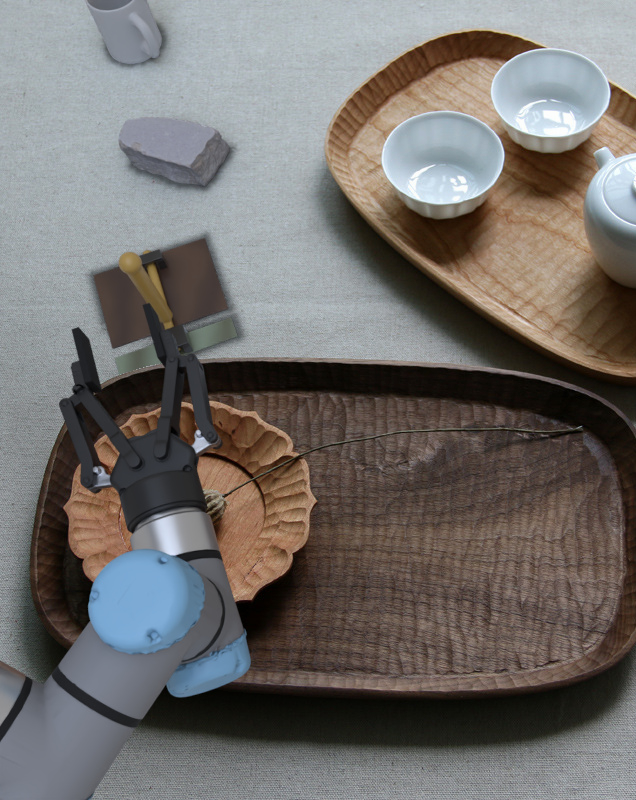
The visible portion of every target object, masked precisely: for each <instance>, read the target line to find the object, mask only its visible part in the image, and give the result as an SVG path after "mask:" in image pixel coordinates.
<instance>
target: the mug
mask: <svg viewBox="0 0 636 800" xmlns="http://www.w3.org/2000/svg"><path fill="white" fill-rule="evenodd" d="M84 2H85V4H86V7H87V8H88V11H89V13H90V15H91V17H92V20H93V21H94V23H95V25H96V27H97V30H98V32H99V34H100V35H101V38H102V40H103V42H104V44H105V46H106V48H107V50H108V53H109V55H110V56H111V57H112V58H113V59H114V60H115V61H117V62H119V63H122V64H127V65H128V64H129V65H133V64H134V65H135V64H139V63H143V62H145V61H148V60H149V59H156V58H158V57H159V55H160V53H161V52H160V48H161V46H162V43H163V42H162V41H163V37H162V34H161V32H160V29H159V27H158V24H157V21H156V20H155V16H154V15H153V13H152V9H151V7H150V5H149V2H148V0H84Z"/></svg>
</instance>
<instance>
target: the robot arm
mask: <svg viewBox="0 0 636 800" xmlns="http://www.w3.org/2000/svg"><path fill="white" fill-rule="evenodd" d="M143 309H144V312H145V316H146V319H147V323H148V326H149V330H150V333H151V336H150V337H151V340H152V345H153V344H154V347H155V351H156V354H157V358H158V359H159V360H160V362H161V363H162V364H161V365H162V366H163V367H164V369H165V370H164V376H163V377H164V378H163V386H162V394H161V403H160V412H159V417H158V418H157V422H156V423H157V424H156V428H154V429H151V430H149V431H148V432H146V433H145V434H143V435H136V436H135V435H134V436H131V437H129V438H128V437H127V435H125V433H124V432H123V430H122V429H121V428H120V427H119V426H118V424H117V422H116V421H115V419H113V417H112V416H111V414H110V413H109V412H108V411H107V409H105V407H104V406H103V404H102V403H101V402H100V401H99V399H98V398H97V397H96V396H95V395H96V394H99V393H102V392H103V389H102V385H101V380H100V377H99V372H98V367H97V365H96V364H97V363H96V361H95V357H94V352H93V348H92V344H91V340H90V338H89V337H88V336H87V335H86V333H85V332H84V331H83V330H82V329H81V328H80V327H79V326H77V327H74V328H71V333H72V337H73V341H74V346H75V350H76V353H77V354H76V355H77V358H78V360H76V361H74V362H71V364H70V370H71V375H72V378H73V382H74V383H73V385H72V388H71V391H72V395H70V396H69V397H64V398H62V399H60V401H59V402H58V407H59V409H60V412H61V415H62V417H63V421H64V423H65V425H66V429H67V431H68V434H69V437H70V439H71V443H72V445H73V447H74V450H75V453H76V456H77V458H78V461H79V464H80V477H79V478H80V480H79V482H80V485H81V486H82V487H83V488H84V489H86V490H88V491H89V492H90V493H92V494H93V495H95V494H100V493H101V491H103V490H104V489H111V488H112V489H114V490H115V491H116V492H117V494H118V498H119V502H120V505H121V509H122V513H123V518H124V521H125V526H126V529H127V531H128V532H129V533H131V535H130V537H129V542H130V545H131V550H129V551H126V552H123V553H122V554H120V555H118V556H116V557H115V558H113V559H112V560H110V561H109V562H108V563H107V564H106V565H105V566H104V567H103V568H102V569H101V570H100V571H99V573H98V574H97V576H96V577H95V579H94V581H93V583H92V586H91V590H90V594H89V600H88V605H87V608H88V609H87V610H88V617H89V620H90V621H89V622H88V623H87V624H86V626H85V627H84V629H83V630H82V631H81V633H80V634H79V635H78V637H77V638H76V640H75V641H74V642H73V644H72V645H71V647H70V648H69V650H68V651H67V652H66V654H65V655H64V656H63V658H62V659H61V661H60V662H59V663H58V664H57V665H56V667H55V668H54V669H53V671H52V672H51V674H50V675H49V676H48V677H47V679H46V681H44V683H42V682H39V681H37V680H35V679H33V678H31V677H29V676H27V675H26V674H25V673H24V672H22V671H20V670H19V669H16V668H15V667H13V666H11V665H9V664H8V663H6V662H4V661H3V660H0V800H92V798H93V796H94V795H95V793H96V790H97V788H98V787H99V785H100V783H102V780H103V779H104V778H105V776H106V774H107V773H108V771H109V769H110V768H111V767H112V765H113V763H114V762H115V760H116V758H117V757H118V756H119V754H120V752H121V751H122V750H123V748H124V746H125V744H126V743H127V741H128V740H129V738H130V737H131V735H132V734H133V732H134V731H135V729H136V728H137V727H138V726H139V724H140V723H141V721H143V719H144V718H145V716H146V714H147V713H148V712H149V711H150V709H151V707H152V706H153V705H154V703H155V701H156V700H157V698H158V697H159V696H160V694H161V693H162V691H163V690H164V688H165V686H166V688H167V691H168V693H169V694H170V695H171V696H173V697H175V698H187V697H192V696H195V695H199V694H202V693H206V692H209V691H212V690H215V689H218V688H221V687H222V686H226V685H227V684H230V683H232V682H234V681H236V680H237V679H240V678H241V677H243V676H244V675H245V674H246V673H247V672H248V671H249V670H250V667H251V664H252V663H251V662H252V660H251V659H252V658H251V654H250V650H249V646H248V642H247V635H248V634H247V631H246V628H244V626H243V623H242V620H241V616H240V613H239V610H238V606H237V604H236V601H235V597H234V593H233V591H232V587H231V584H230V580H229V577H228V573H227V571H226V567H225V564H224V560H223V556H222V553H221V549H220V546H219V542H218V539H217V535H216V531H215V527H214V523H213V520H212V516H211V515H210V514H209V513H206V512H207V511H208V506H209V505H208V503H207V499H206V495H205V492H204V489H203V485H202V482H201V478H200V475H199V471H198V464H199V462H200V456H202V455H203V454H205V453H207V452H208V451H210V450H212V449H213V450H220V449H221V448H222V447H223V445H224V442H223V440H222V438H221V436H220V435H219V434H218V431H217V430H216V428H215V427H214V421H213V415H212V410H211V403H210V398H209V393H208V387H207V381H206V375H205V369H204V366H203V364H202V363H201V361H200V360H199V358H198V356H197V355H196V354H195V353H190V354H187V355H185V356H181V355H180V353H179V349H178V346H177V342H176V339H175V337H174V336H173V334H172V333H171V332H170V331H169V330H165V331H162V328H161V324H160V321H159V317H158V315H157V313H156V312H155V310H154V309H153V307H152V306H151V304H150V303H147V304H144V305H143ZM185 373H186V374H187V381H188V387H189V393H190V399H191V405H192V410H193V416H194V421H195V424H196V426H197V428H198V429H196V430H195V432H194V435H193V436H194V443H192V445H191V444H189V443H188V442H187V441H185V440H183V439H182V438H181V426H180V423H181V413H182V404H183V394H184V385H185V376H186V375H185ZM85 409H86V410H87V412H88V414H90V416H91V417H92V418H93V419H94V421H95V422H96V423H97V425H98V426H99V427H100V429H101V430H102V431H103V433H104V434H105V435H106V437H107V438H108V440H109V441H110V443H111V445H113V447H114V448H115V449H116V451H117V452H118V455H117V459H116V460H115V463H114V466H113V468H112V469H111V472H110V474H109V471H108V470H107V469H106V468H105V467H103V466H102V463H101V460H100V457H99V454H98V452H97V449H96V447H95V444H94V441H93V439H92V436H91V433H90V431H89V428H88V425H87V422H86V420H85V418H84V414H83V413H82V411H84V410H85Z"/></svg>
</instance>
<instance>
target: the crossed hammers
mask: <svg viewBox="0 0 636 800" xmlns="http://www.w3.org/2000/svg"><path fill="white" fill-rule="evenodd" d="M149 252H152V251H151V250H150V249H145V250H144V251H143V252H142V255H143V254H146V253H149ZM139 256H140V255H139V254H138V253H136V252H134V251H126V252H123V253H122V254H121V255H120V256H119V258H118V267H120V269H121V270H122V271H123V272H124V273H126V274H127V275H128V276H129V278H130V279H131V280H132V282H133V283H134V285H135V286H136V288H137V289H138V291H139V292H140V294H141V295H142V297H143V298H144V300H145V301H146V303H150V304H151V306H152V307H153V309H154V310H155V312H156V313H157V315H158V317H159V321H160V322H162V323H163V325H164V328H165V329H168V328H171V327H174V325H173V322H172V316H173V314H172V312H171V310H170V309H169V307H168V305H167V302H166V299H165V295H164V292H163V289H162V285H161V282H160V279H159V275H158V272H157V269H156V265H155V263H152V264H149V265H146V267H147V270H148V274H149V276H148V274H147V272H146V271H145V269H144V268H143V266H142V261H141V258H140V257H139ZM178 349H179V351H180V348H178Z"/></svg>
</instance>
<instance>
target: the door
mask: <svg viewBox="0 0 636 800" xmlns="http://www.w3.org/2000/svg"><path fill="white" fill-rule="evenodd" d="M138 256H139V257H140V258H141V261H142V266H143V268H144V269H145V271H146V272H147V274H148V270H147V267H146V265H149V264H152V263H155V265H156V269H157V272H158V275H159V279H160V282H161V285H162V289H163V292H164V295H165V299H166V302H167V305H168V307H169V309H170V310H171V312H172V314H173V316H172V322H173V325H174V327H171V328H168V329H165V328H164V325H163V323H162V322H160V324H161V328H162V331H165V330H169V331H170V332H171V333H172V334H173V336H174V337H175V339H176V342H177V346H178V348H180V351H179V353H180V355H181V356H187V355H188V354H194V353H196V352H199V351H202V350H204V349H208V348H210V347H212V346H216V345H219V344H221V343H225V342H228V341H230V340H233V339H236V338H238V337H239V335H238V333H237V330H236V327H235V323H234V321H233V318H232V317H229V318H224V319H223V320H220V321H217V322H214V323H212V324H209V325H205V326H203V327H200V328H197V329H194V330H191V331H188V330H187V329H186V327H185V325H187V324H189V323H192V322H195V321H198V320H201V319H204V318H207V317H209V316H213V315H216V314H218V313H222V312H224V311H226V310H229V305H228V303H227V300H226V296H225V294H224V291H223V288H222V285H221V282H220V279H219V276H218V273H217V270H216V267H215V264H214V261H213V257H212V255H211V252H210V249H209V246H208V243H207V240H206V238H205V237H203V238H200V239H197V240H195V241H191V242H188V243H186V244H182V245H179V246H175V247H173V248H170V249H167V250H164V251H162V250H161V249H160V248H158V249H155V250H153V251H151V252H149V253H146V254H143V253H142V254H140V255H138ZM148 276H149V274H148ZM92 277H93V280H94V284H95V289H96V292H97V296H98V299H99V303H100V306H101V311H102V315H103V318H104V322H105V325H106V329H107V330H106V331H107V334H108V337H109V341H110V344H111V348H112V349H113V350H115V349H117V348H120V347H123V346H125V345H129V344H131V343H134V342H138V341H141V340H143V339H147V338H149V337H151V333H150V330H149V326H148V323H147V319H146V316H145V312H144V309H143V305H144V304H147V303H146V301H145V300H144V298H143V297H142V295H141V294H140V292H139V291H138V289H137V288H136V286H135V285H134V283H133V282H132V280H131V279H130V278H129V276H128V275H127V274H126V273H124V272H123V271H122V270H121V269H120V267H119V266H117V267H113V268H111V269H108V270H105V271H102V272H99V273H96V274H93V275H92ZM114 360H115V365H116V368H117V371H118V375H120V374H123V373H126V372H130V371H133V370H136V369H139V368H143V367H146V366H150V365H155V364H159V363H161V362H160V360H159V359H158V358H157V354H156V351H155V347H154V344H153V343H152V344H150V345H147V346H145V347H142V348H140V349H137V350H134V351H133V350H132V351H131V352H128V353H124V354H122V355H119V356H115V358H114ZM159 365H160V364H159Z"/></svg>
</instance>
